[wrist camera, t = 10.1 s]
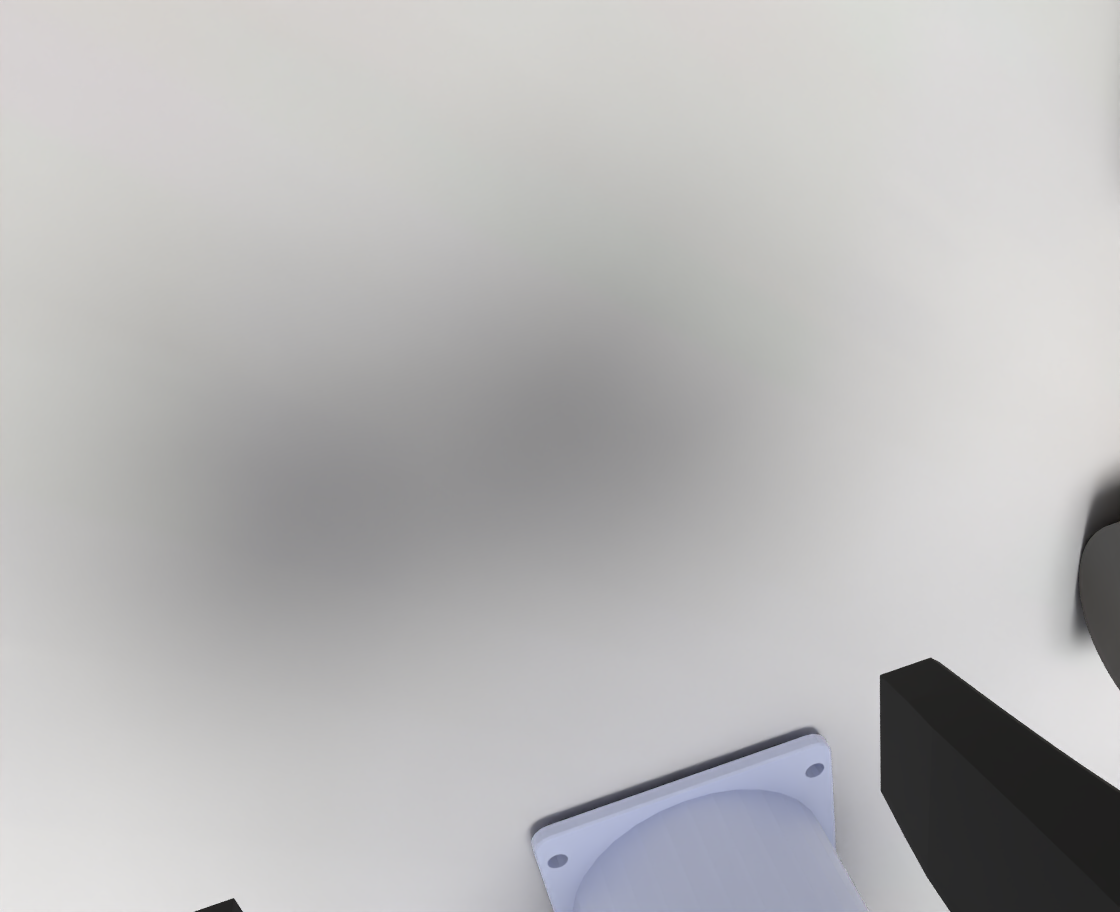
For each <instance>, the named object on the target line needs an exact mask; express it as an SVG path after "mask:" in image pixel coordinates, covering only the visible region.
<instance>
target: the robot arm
mask: <svg viewBox="0 0 1120 912" xmlns="http://www.w3.org/2000/svg"><path fill="white" fill-rule="evenodd" d="M880 750H881V792H882V794H883V796H884V798H885V800H886V802H887V804H888V806H889V807H890V809H891V811H892V813H893V815H894V817H895V819H896V821H897V823H898V825H899V827H900V828H901V830H902V832H903V834H904V836H905V838H906V840H907V842H908V843H909V845H910V847H911V849H912V851H913V852H914V854H915V856H916V858H917V860H918V862H919V863H920V865H921V867H922V869H923V871H924V872H925V874H926V876H927V878H928V879H929V881H930V882H931V884H932V885H933V887H934V888H935V890H936V891H937V893H938V894H939V896H940V897H941V899H942V900H943V902H944V903H945V905H946V906H947V907H948V909H949V910H950V912H1120V790H1118V789H1117V788H1115V787H1114V786H1112V785H1111V784H1109V783H1108V782H1106V781H1105V780H1103V779H1102V778H1100V777H1099V776H1097V775H1096V774H1094V773H1093V772H1091V771H1090V770H1088V769H1087V768H1085V767H1084V766H1082V765H1081V764H1079V763H1078V762H1077V761H1075V760H1074V759H1072V758H1071V757H1069V756H1068V755H1066V754H1065V753H1064V752H1062V751H1061V750H1059V749H1058V748H1056V747H1055V746H1053V745H1052V744H1051V743H1049V742H1048V741H1046V740H1045V739H1044V738H1042V737H1041V736H1039V735H1038V734H1037V733H1035V732H1034V731H1032V730H1031V729H1030V728H1028V727H1027V726H1025V725H1024V724H1023V723H1021V722H1020V721H1018V720H1017V719H1016V718H1014V717H1013V716H1011V715H1010V714H1009V713H1007V712H1006V711H1005V710H1003V709H1002V708H1000V707H999V706H998V705H996V704H995V703H994V702H992V701H991V700H990V699H988V698H987V697H985V696H984V695H983V694H981V693H980V692H979V691H977V690H976V689H975V688H973V687H972V686H971V685H969V684H968V683H967V682H965V681H964V680H963V679H961V678H960V677H959V676H957V675H956V674H955V673H953V672H952V671H951V670H949V669H948V668H946V667H945V666H944V665H942V664H941V663H940V662H938V661H936V660H934V659H932V658H928V659H925V660H922V661H920V662H917V663H914V664H911V665H908V666H905V667H902V668H899V669H896V670H893V671H891V672H888V673H885V674H882V675H880ZM532 847H533V851H534V855H535V858H536V861H537V864H538V866H539V869H540V872H541V875H542V878H543V881H544V884H545V887H546V890H547V893H548V896H549V899H550V902H551V905H552V908H553V911H554V912H870V911H869V910H868V908H867V906H866V904H865V903H864V901H863V899H862V897H861V896H860V894H859V892H858V890H857V888H856V887H855V885H854V883H853V881H852V880H851V878H850V876H849V874H848V873H847V871H846V869H845V867H844V866H843V864H842V862H841V860H840V859H839V857H838V855H837V853H836V839H835V819H834V799H833V779H832V759H831V749H830V746H829V745H828V743H827V741H826V740H825V738H824V737H823V736H821V735H818V734H810V735H805V736H803V737H800V738H797V739H794V740H791V741H788V742H785V743H782V744H780V745H777V746H774V747H771V748H768V749H765V750H762V751H760V752H757V753H754V754H751V755H748V756H745V757H742V758H739V759H737V760H734V761H731V762H728V763H725V764H722V765H719V766H717V767H714V768H711V769H708V770H705V771H702V772H699V773H696V774H694V775H691V776H688V777H685V778H682V779H679V780H676V781H674V782H671V783H668V784H665V785H662V786H659V787H656V788H653V789H651V790H648V791H645V792H642V793H639V794H636V795H633V796H631V797H628V798H625V799H622V800H619V801H616V802H613V803H610V804H608V805H605V806H602V807H599V808H596V809H593V810H590V811H588V812H585V813H582V814H579V815H576V816H573V817H570V818H568V819H565V820H562V821H559V822H556V823H553V824H550V825H547V826H545V827H543V828H541V829H540V830H539V831H537V832H536V833H535V834H534V836H533V838H532ZM195 912H243V911H242V910H241V908H240V907H239V905H238V904H237V902H236V901H235V899H234V898H233V899H230V900H227V901H224V902H221V903H218V904H215V905H212V906H209V907H207V908H204V909H201V910H198V911H195Z"/></svg>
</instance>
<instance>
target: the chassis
mask: <svg viewBox="0 0 1120 912" xmlns="http://www.w3.org/2000/svg"><path fill="white" fill-rule="evenodd" d="M1079 590H1080V598H1081V604H1082V609H1083V613H1084V617H1085V621H1086V624H1087V627H1088V630H1089V633H1090V635H1091V638H1092V641H1093V643H1094V645H1095V648H1096V650H1097V652H1098V654H1099V656H1100V658H1101V660H1102V662H1103V664H1104V666H1105V668H1106V669H1107V671H1108V673H1109V674H1110V676H1111V678H1112V679H1113V681H1114V683H1115V684H1116V685H1117V687H1118V688H1119V690H1120V522H1117V523H1114V524H1111V525H1108V526H1105V527H1103V528H1102V529H1100V530H1099V531H1097V532H1096V533H1095V534H1094V535H1093V536H1092V537H1091V538H1090V540H1089V541H1088V543H1087V545H1086V546H1085V549H1084V551H1083V554H1082V558H1081V562H1080V569H1079Z"/></svg>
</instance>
